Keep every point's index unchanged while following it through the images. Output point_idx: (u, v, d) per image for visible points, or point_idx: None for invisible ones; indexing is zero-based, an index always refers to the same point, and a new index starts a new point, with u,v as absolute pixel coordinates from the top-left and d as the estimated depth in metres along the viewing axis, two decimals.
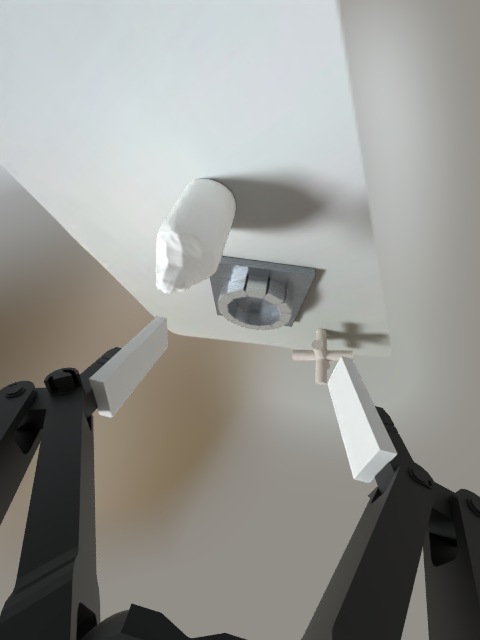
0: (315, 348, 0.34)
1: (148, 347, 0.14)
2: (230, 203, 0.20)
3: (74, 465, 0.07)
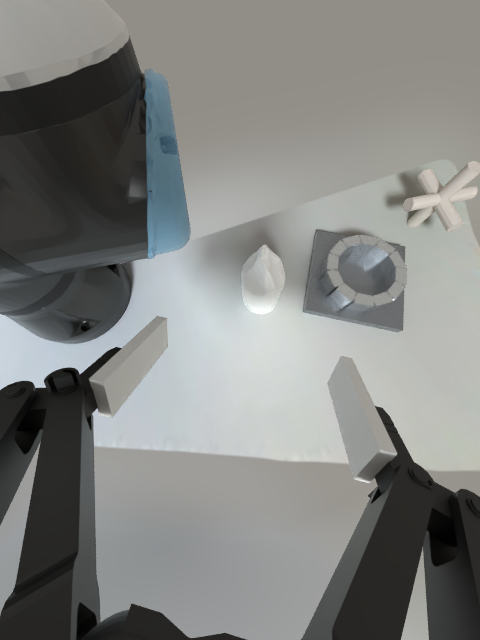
0: (412, 203, 0.30)
1: (148, 347, 0.14)
2: None
3: (74, 465, 0.07)
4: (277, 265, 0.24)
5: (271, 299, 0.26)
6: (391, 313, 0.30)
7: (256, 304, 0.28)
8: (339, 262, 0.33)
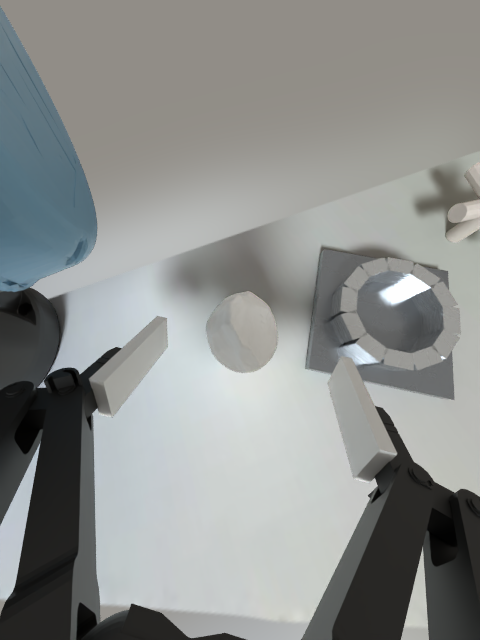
0: (465, 211, 0.20)
1: (148, 347, 0.14)
2: None
3: (73, 464, 0.07)
4: (263, 321, 0.15)
5: None
6: (435, 373, 0.21)
7: None
8: None
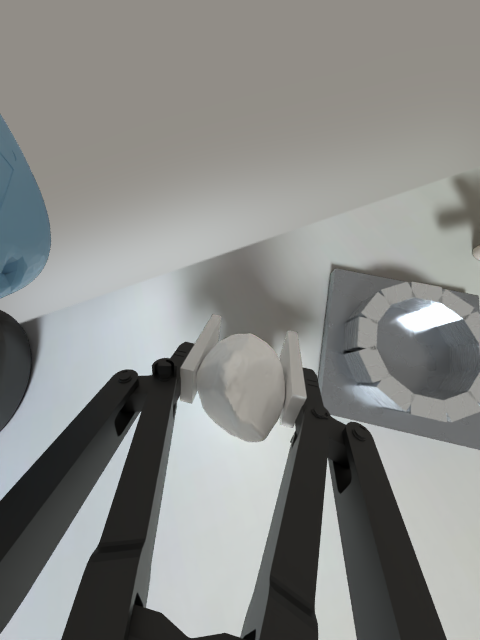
0: None
1: (211, 342, 0.15)
2: None
3: (157, 449, 0.08)
4: (268, 374, 0.12)
5: None
6: (467, 419, 0.18)
7: None
8: None
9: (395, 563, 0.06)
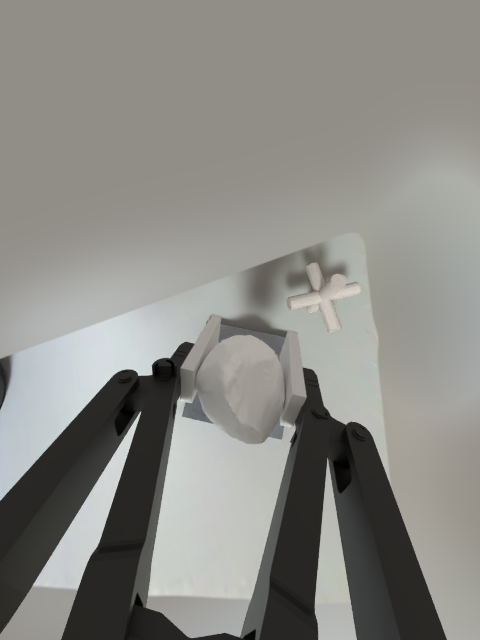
0: (290, 304, 0.29)
1: (211, 342, 0.15)
2: None
3: (157, 449, 0.08)
4: (268, 376, 0.12)
5: None
6: None
7: None
8: None
9: (395, 563, 0.06)
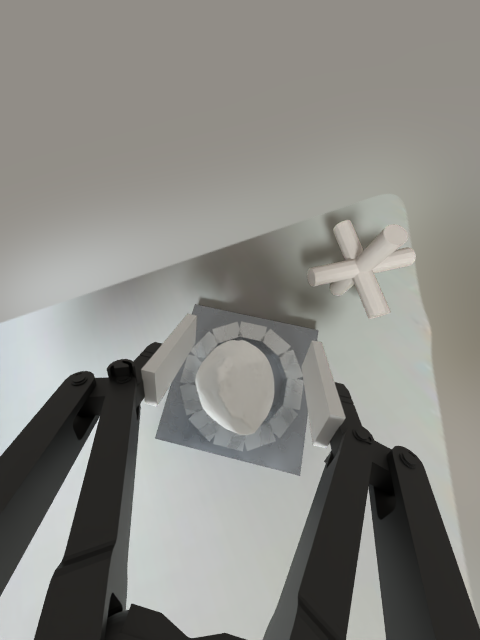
0: (314, 277, 0.20)
1: (183, 342, 0.15)
2: None
3: (121, 452, 0.08)
4: (258, 376, 0.13)
5: None
6: (285, 445, 0.20)
7: None
8: None
9: (444, 606, 0.06)
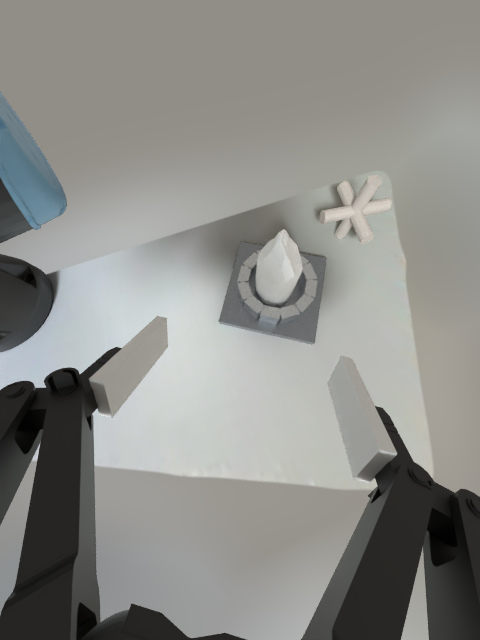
0: (324, 215, 0.30)
1: (148, 347, 0.14)
2: None
3: (73, 465, 0.07)
4: (295, 252, 0.24)
5: (287, 288, 0.25)
6: (304, 325, 0.30)
7: (271, 294, 0.27)
8: None
9: None
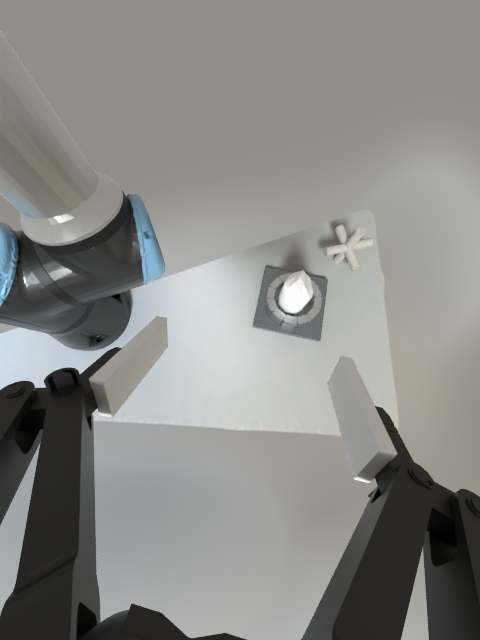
0: (326, 251, 0.43)
1: (148, 347, 0.14)
2: None
3: (73, 464, 0.07)
4: (308, 282, 0.37)
5: (303, 304, 0.38)
6: (313, 328, 0.43)
7: (291, 308, 0.40)
8: (279, 291, 0.46)
9: None
